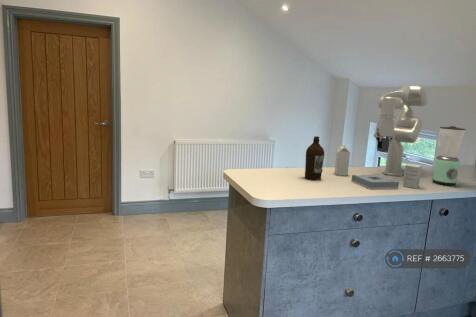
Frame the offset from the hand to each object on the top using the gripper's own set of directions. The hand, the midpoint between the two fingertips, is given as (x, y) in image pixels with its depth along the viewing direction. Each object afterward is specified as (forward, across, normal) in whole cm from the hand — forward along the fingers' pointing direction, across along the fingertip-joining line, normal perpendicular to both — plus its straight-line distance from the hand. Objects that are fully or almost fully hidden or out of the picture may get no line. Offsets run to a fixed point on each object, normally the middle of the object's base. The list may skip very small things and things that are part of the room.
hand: (382, 147), depth 219 cm
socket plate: (+20, +12, +13) cm, 27 cm away
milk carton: (+20, +18, -14) cm, 30 cm away
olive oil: (+21, +42, -4) cm, 47 cm away
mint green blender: (+19, -38, +12) cm, 44 cm away
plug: (+2, 0, 0) cm, 2 cm away
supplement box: (+20, -9, +18) cm, 28 cm away
